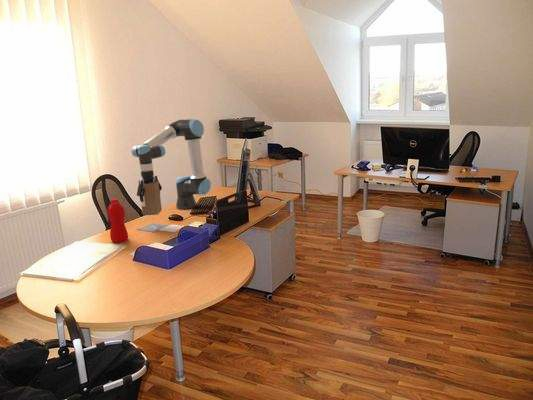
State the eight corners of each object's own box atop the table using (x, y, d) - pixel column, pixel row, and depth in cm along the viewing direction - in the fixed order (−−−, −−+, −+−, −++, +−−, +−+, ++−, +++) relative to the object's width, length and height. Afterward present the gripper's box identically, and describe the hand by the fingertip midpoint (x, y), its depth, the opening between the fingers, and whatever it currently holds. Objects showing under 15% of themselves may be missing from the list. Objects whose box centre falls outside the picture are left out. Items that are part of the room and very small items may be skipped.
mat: (171, 225, 288) (171, 224, 288) (186, 227, 282) (186, 226, 282) (159, 230, 278) (159, 229, 278) (173, 232, 272) (173, 231, 272)
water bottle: (132, 240, 261) (127, 198, 255) (113, 244, 256) (107, 202, 250) (128, 236, 269) (123, 196, 263) (109, 240, 264) (104, 199, 258)
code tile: (153, 223, 293) (153, 223, 293) (169, 225, 286) (169, 225, 286) (137, 229, 281) (137, 229, 281) (154, 232, 275) (153, 231, 274)
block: (158, 215, 277) (154, 183, 272) (142, 215, 277) (138, 184, 272) (162, 210, 287) (158, 180, 282) (146, 211, 287) (143, 181, 282)
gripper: (156, 166, 287) (160, 198, 293) (127, 174, 266) (132, 208, 272) (165, 166, 283) (168, 198, 289) (136, 174, 263) (141, 209, 268)
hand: (151, 203), depth 280 cm, fingers open, 13 cm apart
